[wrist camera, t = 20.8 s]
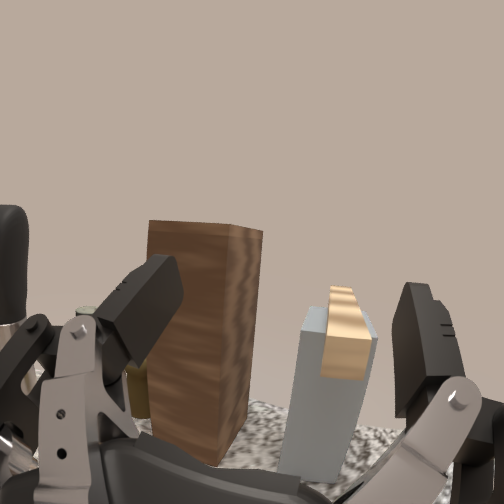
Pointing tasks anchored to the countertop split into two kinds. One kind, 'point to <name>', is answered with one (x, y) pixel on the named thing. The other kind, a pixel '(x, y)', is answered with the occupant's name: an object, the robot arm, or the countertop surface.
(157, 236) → the tall walnut stand
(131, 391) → the cork
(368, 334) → the beech bar
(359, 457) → the countertop surface
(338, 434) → the grey rectangular block
